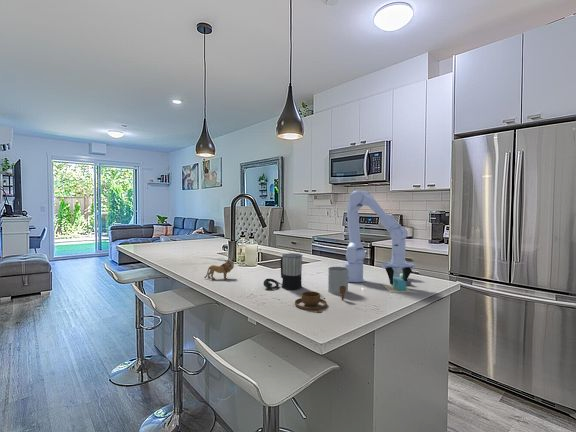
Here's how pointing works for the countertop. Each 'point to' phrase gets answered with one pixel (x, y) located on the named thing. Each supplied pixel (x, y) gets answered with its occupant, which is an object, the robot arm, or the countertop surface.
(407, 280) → the button housing
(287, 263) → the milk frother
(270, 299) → the countertop surface
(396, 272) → the medicine box
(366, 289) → the countertop surface
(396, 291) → the kraft paper
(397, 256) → the robot arm
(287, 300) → the countertop surface
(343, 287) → the place setting
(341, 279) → the cup
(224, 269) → the lion figurine
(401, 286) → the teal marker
